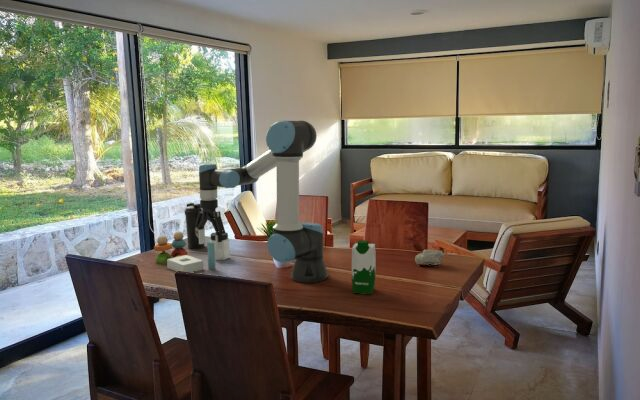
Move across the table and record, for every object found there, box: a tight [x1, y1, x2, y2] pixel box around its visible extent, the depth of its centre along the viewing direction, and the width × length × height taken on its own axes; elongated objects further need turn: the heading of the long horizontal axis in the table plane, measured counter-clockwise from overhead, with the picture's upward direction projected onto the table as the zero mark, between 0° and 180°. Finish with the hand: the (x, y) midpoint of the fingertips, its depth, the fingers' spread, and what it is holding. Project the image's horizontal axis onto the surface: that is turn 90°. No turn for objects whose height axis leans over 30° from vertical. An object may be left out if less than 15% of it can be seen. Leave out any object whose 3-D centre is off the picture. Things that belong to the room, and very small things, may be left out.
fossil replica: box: [414, 249, 445, 265], centre depth 231 cm, size 12×8×10 cm
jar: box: [209, 231, 230, 261], centre depth 247 cm, size 9×8×12 cm
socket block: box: [166, 254, 205, 273], centre depth 231 cm, size 14×10×4 cm
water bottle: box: [184, 202, 206, 250], centre depth 269 cm, size 10×10×23 cm
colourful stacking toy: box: [153, 230, 193, 264], centre depth 247 cm, size 18×17×12 cm
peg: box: [206, 241, 216, 271], centre depth 229 cm, size 3×3×12 cm
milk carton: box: [351, 239, 377, 295], centre depth 196 cm, size 9×9×20 cm
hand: (210, 246), depth 229 cm, fingers open, 13 cm apart
